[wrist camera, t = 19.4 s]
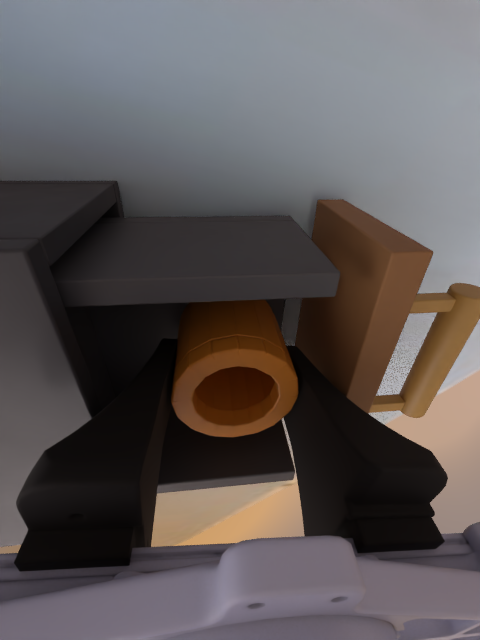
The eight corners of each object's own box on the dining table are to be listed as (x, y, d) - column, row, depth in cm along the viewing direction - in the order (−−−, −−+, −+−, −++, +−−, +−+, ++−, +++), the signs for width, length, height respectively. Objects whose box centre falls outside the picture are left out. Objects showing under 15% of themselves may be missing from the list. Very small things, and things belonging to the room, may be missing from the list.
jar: (158, 318, 14) (143, 391, 10) (244, 266, 13) (262, 326, 9) (214, 376, 17) (218, 451, 13) (289, 336, 16) (317, 406, 12)
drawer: (447, 198, 13) (596, 247, 8) (373, 386, 20) (431, 475, 15) (44, 200, 12) (-76, 263, 7) (113, 404, 19) (79, 512, 14)
